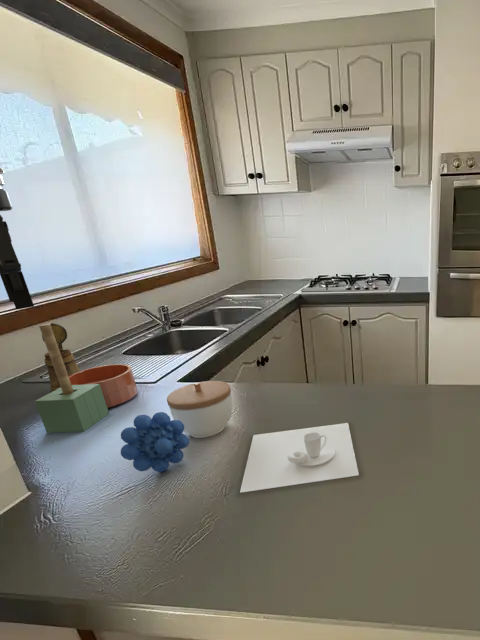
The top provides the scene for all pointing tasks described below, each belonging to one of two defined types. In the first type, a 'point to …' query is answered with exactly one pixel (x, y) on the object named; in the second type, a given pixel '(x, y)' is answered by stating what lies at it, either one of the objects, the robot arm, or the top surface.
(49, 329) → the stick
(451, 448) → the top surface
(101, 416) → the stick stand
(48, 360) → the wooden barrel with disc
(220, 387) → the lidded bowl
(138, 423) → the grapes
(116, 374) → the mixing bowl
